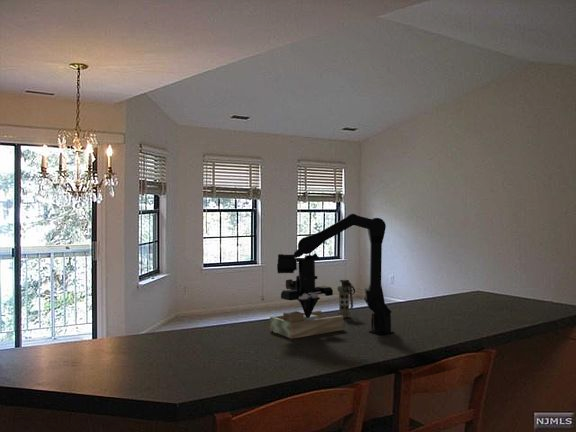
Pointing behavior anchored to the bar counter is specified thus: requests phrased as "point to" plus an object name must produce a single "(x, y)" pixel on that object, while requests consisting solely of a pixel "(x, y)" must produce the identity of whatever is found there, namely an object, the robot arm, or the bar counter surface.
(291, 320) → the walnut block
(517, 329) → the bar counter surface
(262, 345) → the bar counter surface
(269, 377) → the bar counter surface
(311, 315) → the trapped block
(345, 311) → the grenade model
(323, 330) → the box
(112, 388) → the bar counter surface
